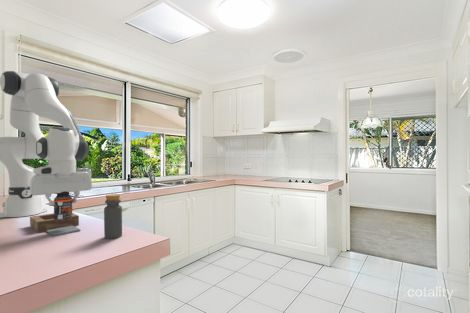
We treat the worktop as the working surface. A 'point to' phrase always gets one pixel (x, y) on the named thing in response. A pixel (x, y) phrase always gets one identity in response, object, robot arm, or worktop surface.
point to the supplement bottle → (63, 207)
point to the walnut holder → (51, 222)
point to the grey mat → (63, 230)
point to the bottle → (113, 217)
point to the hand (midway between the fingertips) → (63, 204)
